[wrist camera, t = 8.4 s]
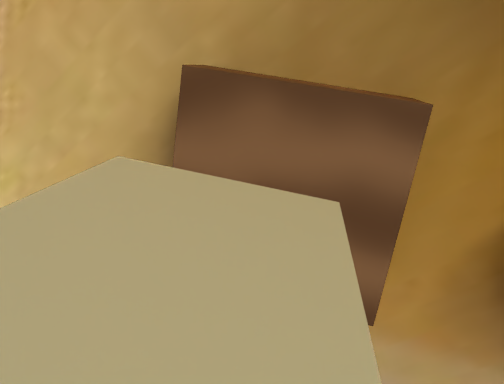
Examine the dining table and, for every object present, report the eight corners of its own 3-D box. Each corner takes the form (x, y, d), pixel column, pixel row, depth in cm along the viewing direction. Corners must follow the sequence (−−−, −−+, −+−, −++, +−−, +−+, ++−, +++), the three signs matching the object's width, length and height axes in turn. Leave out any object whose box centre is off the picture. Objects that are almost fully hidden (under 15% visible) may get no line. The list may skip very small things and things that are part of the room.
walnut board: (203, 65, 29) (182, 64, 24) (412, 98, 28) (432, 105, 23) (183, 251, 33) (161, 282, 29) (364, 287, 32) (373, 325, 27)
